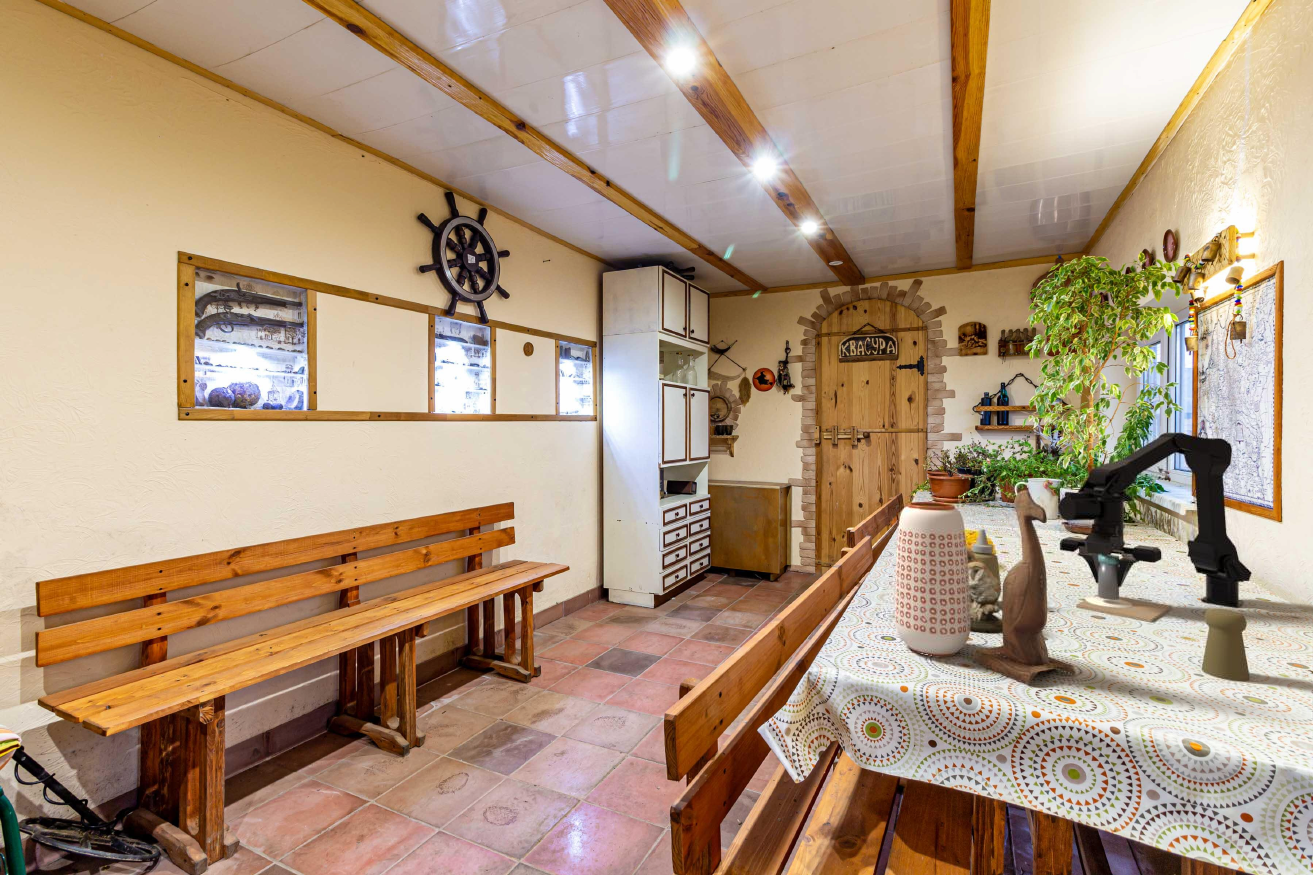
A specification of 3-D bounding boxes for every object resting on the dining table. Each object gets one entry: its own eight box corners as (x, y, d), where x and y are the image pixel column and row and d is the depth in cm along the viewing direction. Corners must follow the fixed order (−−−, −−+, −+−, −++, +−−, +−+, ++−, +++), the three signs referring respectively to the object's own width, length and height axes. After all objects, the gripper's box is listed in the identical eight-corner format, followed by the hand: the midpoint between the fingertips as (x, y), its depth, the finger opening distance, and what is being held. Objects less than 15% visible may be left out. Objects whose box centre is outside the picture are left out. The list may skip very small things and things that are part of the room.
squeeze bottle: (997, 600, 147) (997, 528, 146) (1005, 609, 139) (1004, 533, 139) (961, 597, 149) (961, 526, 149) (966, 606, 142) (966, 531, 142)
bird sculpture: (1034, 690, 97) (1040, 496, 96) (971, 662, 108) (976, 488, 107) (1077, 678, 102) (1083, 493, 101) (1012, 653, 113) (1017, 486, 111)
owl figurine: (907, 616, 136) (907, 542, 136) (935, 607, 142) (934, 536, 142) (989, 637, 121) (988, 554, 121) (1015, 626, 128) (1015, 547, 128)
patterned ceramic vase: (939, 667, 106) (938, 510, 106) (880, 643, 118) (879, 503, 118) (986, 653, 112) (985, 505, 112) (925, 632, 124) (924, 498, 124)
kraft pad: (1098, 594, 150) (1098, 592, 150) (1172, 608, 139) (1172, 605, 139) (1073, 606, 141) (1073, 603, 141) (1150, 622, 129) (1150, 618, 129)
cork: (1260, 682, 98) (1260, 616, 98) (1217, 679, 100) (1217, 614, 100) (1232, 668, 104) (1232, 605, 104) (1192, 665, 106) (1192, 604, 106)
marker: (1101, 594, 145) (1101, 553, 145) (1121, 597, 141) (1121, 556, 141) (1095, 597, 142) (1095, 555, 142) (1116, 600, 139) (1115, 558, 139)
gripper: (1050, 518, 144) (1050, 582, 145) (1146, 528, 129) (1147, 599, 130) (1068, 514, 151) (1068, 575, 151) (1162, 523, 136) (1162, 590, 136)
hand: (1108, 584), depth 142 cm, fingers closed on marker, 4 cm apart
